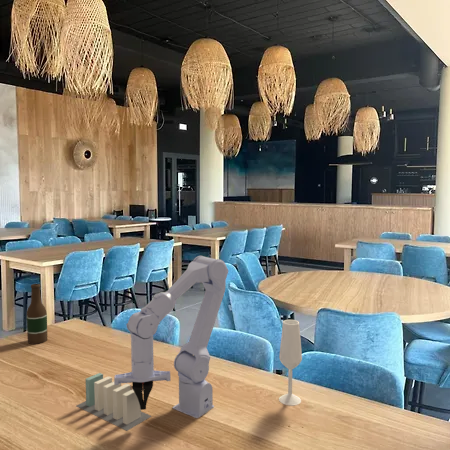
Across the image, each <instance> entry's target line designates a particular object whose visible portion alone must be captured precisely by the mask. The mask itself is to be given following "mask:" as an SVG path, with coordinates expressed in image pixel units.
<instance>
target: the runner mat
mask: <svg viewBox="0 0 450 450" xmlns="http://www.w3.org/2000/svg"><path fill="white" fill-rule="evenodd" d="M75 407H77V408H79V409H81V410H83V411H85V412H87V413H89V414H91V415H93V416H95V417H98V418H100V419H102V420H104V421H106V422H108V423H109V424H112V425H114V426H116V427H118V428H120V429H122V430H124V431H126V432H128V431H130V430H131V429H133V428H135V427H136V426H138V425H140V424H142V423H143V422H145V421H146V420H148V419H150V418H152V415H150V414H148V413H146V412H143V411H141V417H140V418H138V419H136V420H134V421H133V422H131V423H129V424H128V425H127V424H124V423H123V417H122V418H120V419H118V420H116V419H114V418H113V413H111V414H110V415H106V414H104V409H102V410H100V411H97V410H95V405H93V406H91V407H89V406H87V405H86V400H85V401H83V402H81V403H79V404H76V406H75Z"/></svg>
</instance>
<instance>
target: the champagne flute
mask: <svg viewBox="0 0 450 450" xmlns="http://www.w3.org/2000/svg"><path fill="white" fill-rule="evenodd" d="M281 328H282V329H281V339H280V346H279V347H280V348H279V356H278V358H279V361H280V362H281V364H282V365H283V366H284V367H285V368H286V369H288V377H287V379H288V382H287V383H288V385H287V393H285V394H282V395H281V396H280V397H279V398H278V401H279V402H280V404H283V405H286V406H297V405H300V404H301V402H302V399H301V398H300V397H299V396H297V395H296V394H294V393H293V369H295V368H297V367H298V366H299V365H300V364H301V363H302V360H303V355H302V353H303V352H302V340H301V329H300V322H299V321H298V320H297V319H285V320H283V321H282V327H281Z"/></svg>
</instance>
